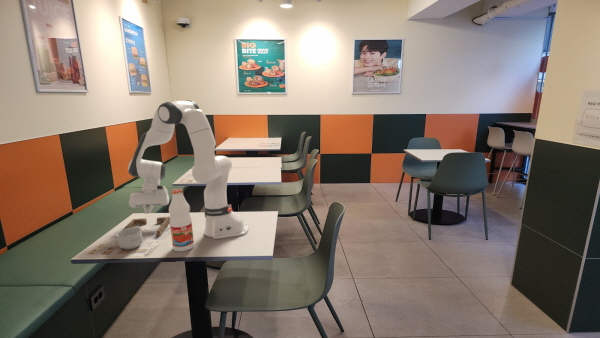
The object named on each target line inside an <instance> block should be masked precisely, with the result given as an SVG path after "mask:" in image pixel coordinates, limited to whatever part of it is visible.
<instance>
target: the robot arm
mask: <svg viewBox="0 0 600 338" xmlns="http://www.w3.org/2000/svg"><path fill="white" fill-rule="evenodd" d="M180 124H182V125H184V127H185V129H186V131H187V133H188V136H189V139H190V142H191V146H192V148H193V149H192V150H193V157H194V165H193V167H192V170H191V173H192V174H191V175H192V177H193V179H194V181H195V182H197V183H199V184H206V186H205V189H204V190H203V198H204V199H203V200H204V207H203V212H204V218H205V227H204V232H203V234H204V235H205V236H206V237H209V238H212V239H214V240H217V239H226V238H231V237H233V238H234V237H238V236H244V235H246V234H247V233H248V232H249V225H248V224H247V223H245V222H244V219H243V217H242V215H240V214H238V213H237V212H234V210H233V208H232V204H228V198H227V197H228V196H227V187H228V181H229V175H230V172H231V169H232V167H233V165H232V161H231V159H230V158H229V157H228V156H225V155H216V154H215V149H216V148H215V147H216V146H217V142H216V139H215V136H214V133H213V130H212V127H211V125H210V123H209V120H208V118H207V115H206V114H205V113H204V111H203V110H202V109H200V107H199V105H198V103H197V102H195V101H193V100H187V99H186V100H173V101H166V102H163V103H161V104H159V105H158V107H157V109H156V110H155V112H154V115H153V118H152V120H151V125H150V128H149V130H148V131H146V132H144V133H142V135H141V137H140V139H139V141H138V143H137V146H136V148H135V151H134V153H133V156H132V159H131V160H130V161H129V164H128V165H127V166H128V167H127V172H128V174H129V175H131V177H133V178H143V183H142V187H141V190H139V191H135V190H134V191H132V192H131V193H130V195H129V196H130V197H129V201H128V206H129V207H131V208H132V209H133V208H143V210H144V211H143V213H144V214H145V215H146V214H151V213H152V210H153V209H154V208H155V207H162V206H168V205H170V204H169V203H170V195H169V190H168V189H167V188H166V186H165V185H160V183H161V181H162V180H164V179H165V177H166V169H167V167H166V165H165V164H164V163H163V162H161V161H155V160H148V159H143V155H144V153H145V150H146V149H147V148H149V147H152V146H159V145H163V144H166V143H169V142H170V141H171V140H172V138H173V135H174V132H175V126H176V125H180ZM148 207H149V208H148Z"/></svg>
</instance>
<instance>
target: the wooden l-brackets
mask: <svg viewBox="0 0 600 338" xmlns="http://www.w3.org/2000/svg"><path fill="white" fill-rule="evenodd" d="M170 217H171V216H163V217H162V216H161V217H158V216H157V218H156V224H161V225H160V226H159V227H158V229H157V230H156V237H161V236H162V235H163V233H164V232H165V231H166V229H167V227H168V226H169V225H170ZM147 221H148V219H147V217H146V218H133V219H131V220H130V221H129V222H128V223H127V224H126V225H125V226H124V228H123V229H121V230H124V229H127V228H131V227H135V226H140V225H147V223H148V222H147Z"/></svg>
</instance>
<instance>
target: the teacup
mask: <svg viewBox="0 0 600 338" xmlns="http://www.w3.org/2000/svg"><path fill="white" fill-rule="evenodd" d="M115 236H116V240H117V244H118V246H119V247H120V248H121V249H123V250H132V249H133V250H134V249H135V248H138V247H139V246H140V244H142V242H143V240H144V239H143V232H142V228H141V227H140V225H135V226H134V227H131V228H127V229H124V230H122V229H121V230H120V231H117V232H116V234H115Z"/></svg>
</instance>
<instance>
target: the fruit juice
mask: <svg viewBox="0 0 600 338" xmlns="http://www.w3.org/2000/svg"><path fill="white" fill-rule="evenodd" d="M171 195H172V197H171V201H170V204H169V206H168V213H169V217H170V224H169V225H170V227H169V228H170V234H171V235H170V237H171V243H172V249H173V250H174V252H181V253H182V252H186V251H190V250H191V249H193V248H194V245H195V240H194V231H193V224H192V216H191V214H190V212H191V206H190V204H189V203H188V202H187V200H186V197H185V196H184V189H182V188H175V189H172V190H171Z"/></svg>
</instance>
